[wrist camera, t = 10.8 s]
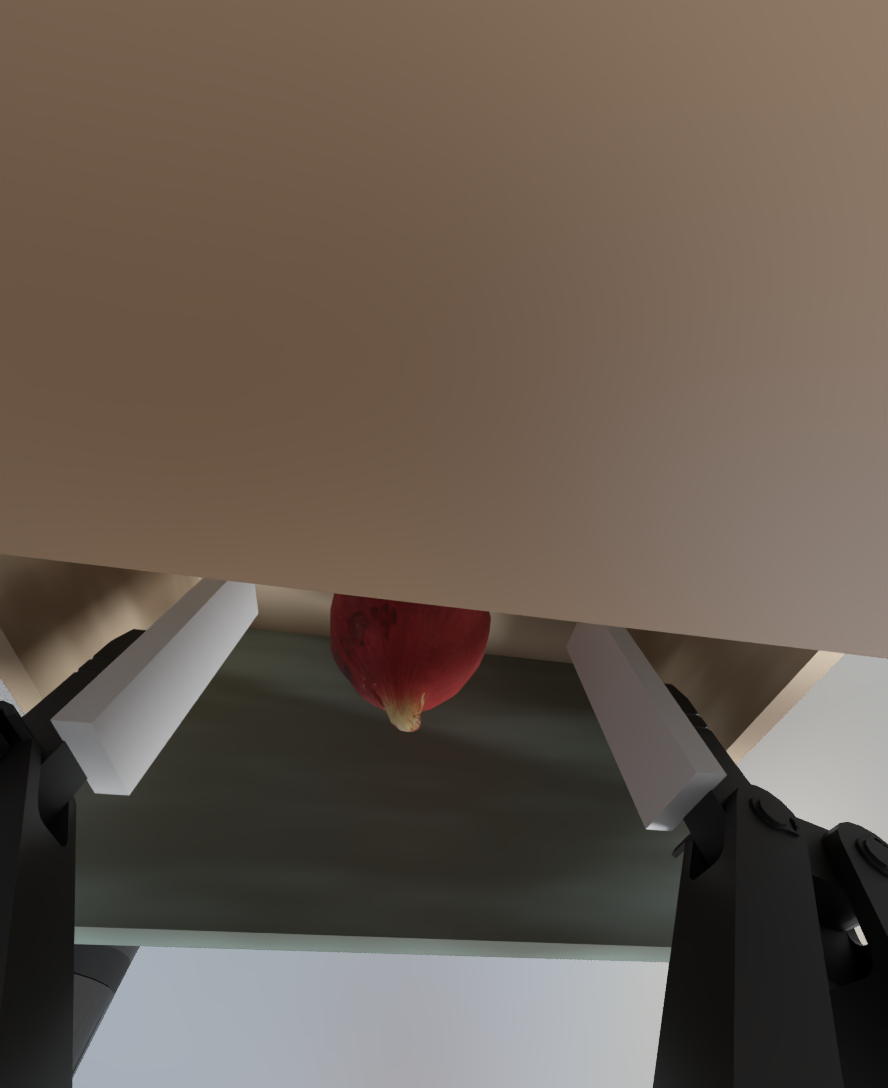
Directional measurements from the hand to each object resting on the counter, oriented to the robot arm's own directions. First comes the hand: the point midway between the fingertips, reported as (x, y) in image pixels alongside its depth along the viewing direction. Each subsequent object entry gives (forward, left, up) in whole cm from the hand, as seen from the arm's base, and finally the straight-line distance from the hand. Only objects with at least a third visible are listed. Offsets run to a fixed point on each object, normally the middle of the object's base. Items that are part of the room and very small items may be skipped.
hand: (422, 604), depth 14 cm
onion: (0, 0, -3) cm, 3 cm away
